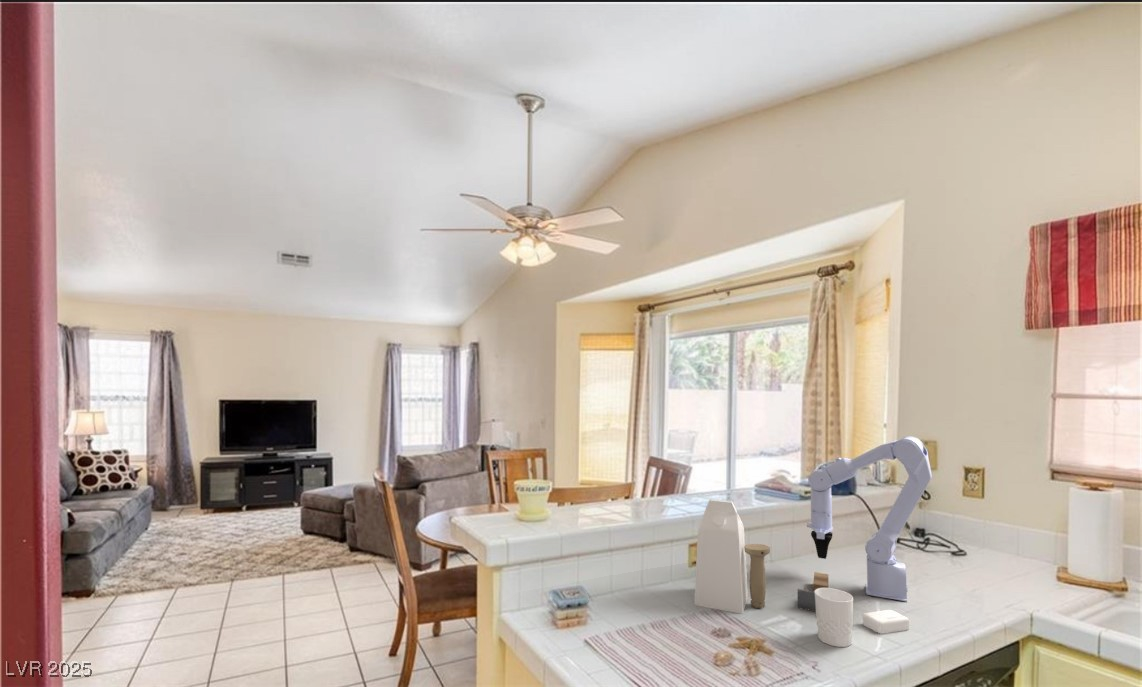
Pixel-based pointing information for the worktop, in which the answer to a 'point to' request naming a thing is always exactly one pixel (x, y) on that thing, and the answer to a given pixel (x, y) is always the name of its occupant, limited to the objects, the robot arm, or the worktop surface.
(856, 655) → the worktop surface
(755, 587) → the handle
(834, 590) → the white cup
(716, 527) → the milk
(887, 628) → the soap
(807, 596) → the bracket
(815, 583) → the tan rectangular block
